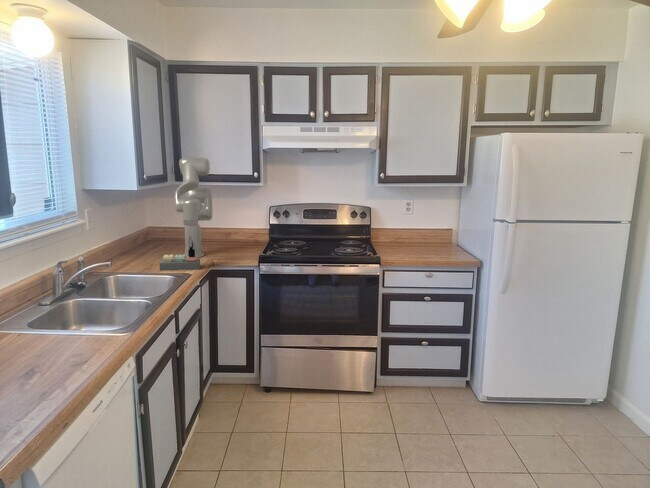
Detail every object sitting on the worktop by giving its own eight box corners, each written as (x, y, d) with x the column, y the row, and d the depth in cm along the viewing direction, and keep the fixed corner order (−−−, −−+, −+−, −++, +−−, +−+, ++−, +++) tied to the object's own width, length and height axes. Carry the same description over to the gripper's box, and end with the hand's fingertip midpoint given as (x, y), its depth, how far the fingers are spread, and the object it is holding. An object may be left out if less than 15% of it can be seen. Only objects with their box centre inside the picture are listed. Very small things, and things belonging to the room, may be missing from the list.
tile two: (175, 265, 227) (174, 256, 227) (176, 263, 232) (175, 254, 231) (184, 265, 229) (184, 255, 228) (185, 263, 233) (185, 254, 232)
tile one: (163, 265, 226) (163, 256, 225) (164, 263, 231) (164, 254, 230) (172, 265, 227) (172, 256, 226) (174, 263, 232) (173, 254, 231)
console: (159, 270, 224) (159, 263, 223) (162, 266, 233) (162, 259, 232) (199, 269, 229) (198, 262, 228) (200, 265, 237) (200, 258, 237)
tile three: (187, 267, 229) (186, 257, 228) (187, 265, 234) (187, 255, 233) (196, 266, 230) (196, 257, 229) (196, 264, 235) (196, 255, 234)
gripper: (184, 221, 234) (185, 254, 237) (182, 224, 220) (183, 259, 223) (198, 221, 236) (199, 253, 239) (197, 224, 221) (197, 259, 224)
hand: (191, 256), depth 231 cm, fingers closed
